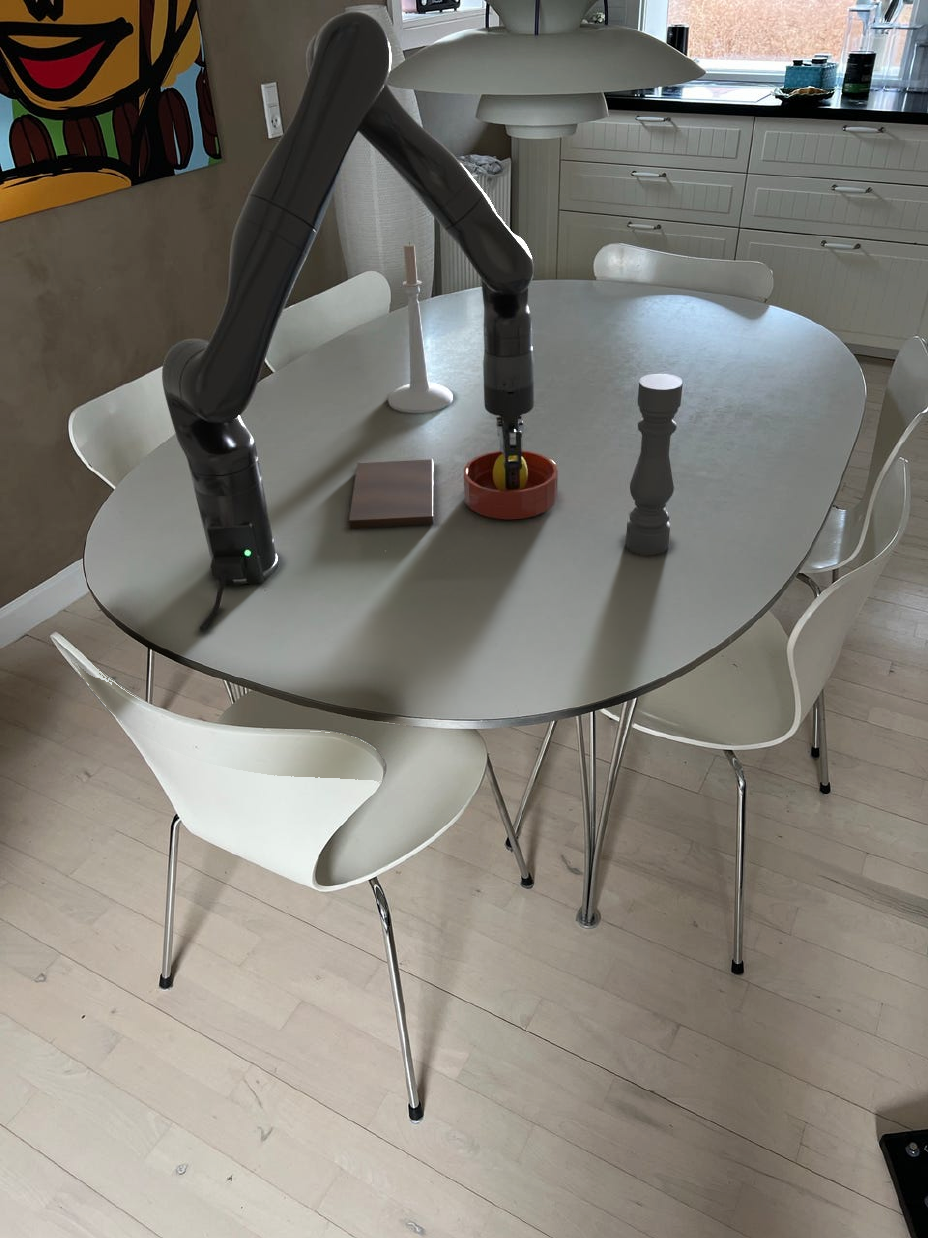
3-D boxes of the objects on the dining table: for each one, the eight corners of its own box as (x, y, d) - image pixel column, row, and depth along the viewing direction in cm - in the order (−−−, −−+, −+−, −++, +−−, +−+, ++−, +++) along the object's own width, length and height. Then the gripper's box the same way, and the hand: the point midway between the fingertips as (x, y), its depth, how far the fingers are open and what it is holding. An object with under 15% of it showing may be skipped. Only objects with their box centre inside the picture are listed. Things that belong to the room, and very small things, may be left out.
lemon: (525, 505, 147) (524, 459, 142) (490, 503, 148) (489, 457, 143) (530, 489, 151) (530, 444, 146) (496, 487, 152) (495, 442, 147)
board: (433, 524, 144) (432, 516, 143) (349, 528, 144) (348, 520, 143) (433, 466, 160) (432, 459, 159) (358, 470, 160) (357, 462, 159)
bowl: (561, 519, 144) (562, 489, 140) (466, 524, 144) (464, 494, 140) (551, 475, 156) (552, 447, 152) (463, 480, 156) (462, 452, 153)
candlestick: (379, 395, 187) (363, 239, 170) (438, 383, 191) (428, 229, 174) (402, 417, 178) (387, 255, 160) (462, 404, 182) (455, 244, 164)
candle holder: (639, 529, 140) (652, 369, 126) (676, 541, 137) (693, 378, 122) (617, 546, 136) (628, 383, 122) (654, 560, 133) (670, 393, 118)
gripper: (481, 362, 144) (484, 457, 153) (486, 398, 132) (489, 498, 142) (529, 359, 144) (530, 454, 153) (538, 395, 132) (538, 496, 142)
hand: (510, 475), depth 147 cm, fingers open, 8 cm apart
